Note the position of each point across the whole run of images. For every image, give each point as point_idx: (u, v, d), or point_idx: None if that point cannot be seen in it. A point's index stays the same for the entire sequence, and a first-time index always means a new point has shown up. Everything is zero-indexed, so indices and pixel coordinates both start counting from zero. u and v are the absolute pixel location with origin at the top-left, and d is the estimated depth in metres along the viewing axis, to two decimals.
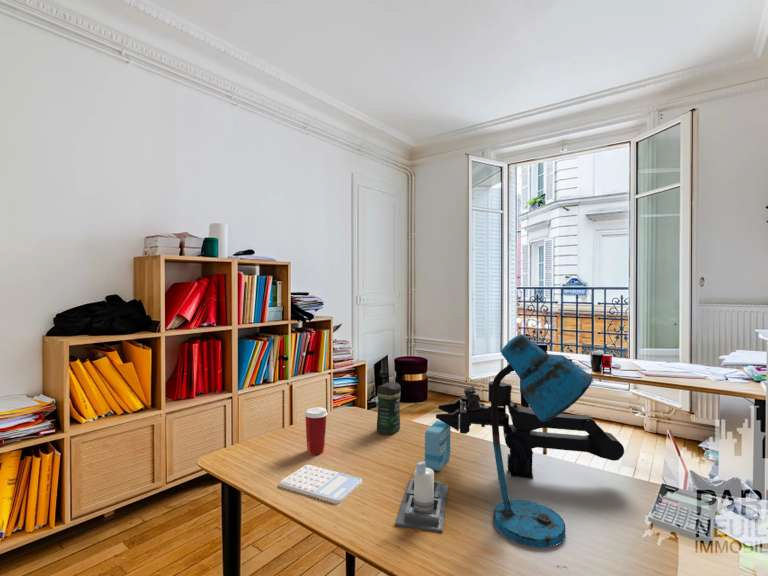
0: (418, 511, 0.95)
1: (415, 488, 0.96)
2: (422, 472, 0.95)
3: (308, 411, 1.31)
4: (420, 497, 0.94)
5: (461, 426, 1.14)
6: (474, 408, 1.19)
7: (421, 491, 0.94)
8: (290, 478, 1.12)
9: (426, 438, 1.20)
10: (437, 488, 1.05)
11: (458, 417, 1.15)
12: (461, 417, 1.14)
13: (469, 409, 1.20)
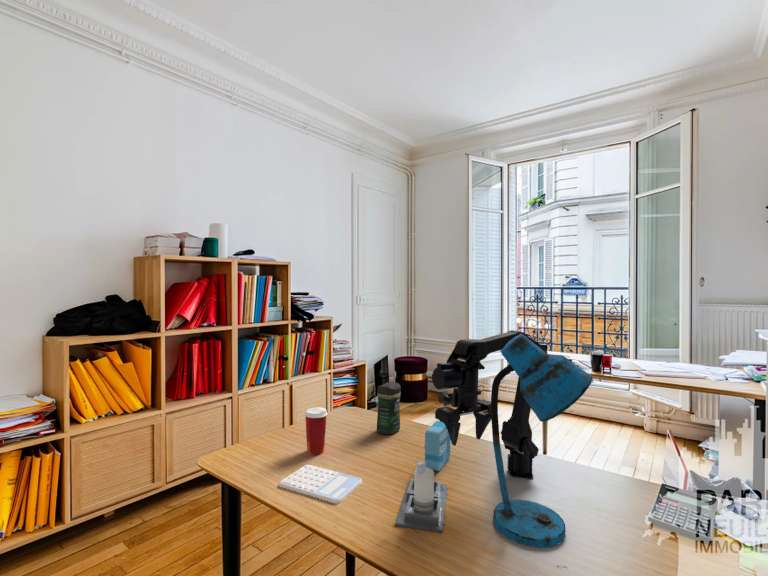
0: (418, 511, 0.95)
1: (415, 488, 0.96)
2: (422, 472, 0.95)
3: (308, 411, 1.31)
4: (420, 497, 0.94)
5: (443, 420, 1.03)
6: (452, 399, 1.10)
7: (421, 491, 0.94)
8: (290, 478, 1.12)
9: (426, 438, 1.20)
10: (437, 488, 1.05)
11: (441, 420, 1.06)
12: (437, 417, 1.05)
13: (453, 405, 1.09)
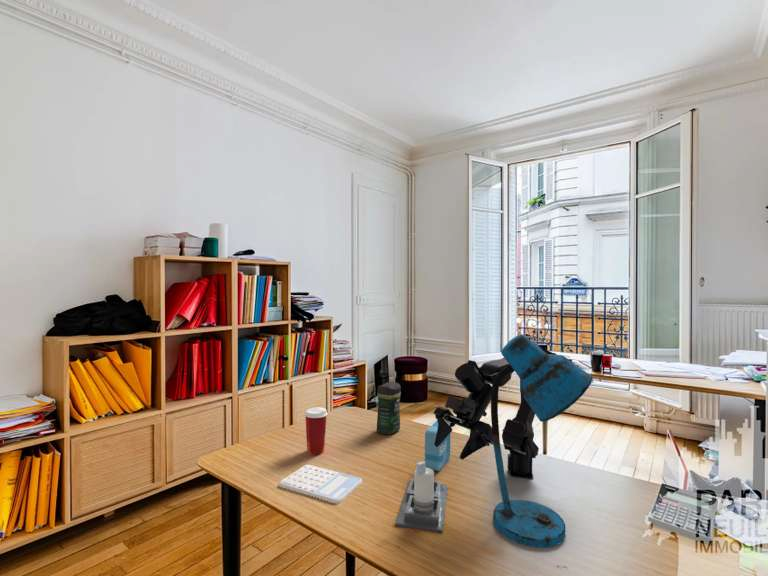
0: (418, 511, 0.95)
1: (415, 488, 0.96)
2: (422, 472, 0.95)
3: (308, 411, 1.31)
4: (420, 497, 0.94)
5: (492, 439, 0.97)
6: (472, 411, 1.02)
7: (421, 491, 0.94)
8: (290, 478, 1.12)
9: (426, 438, 1.20)
10: (437, 488, 1.05)
11: (482, 436, 0.97)
12: (487, 433, 0.96)
13: (471, 417, 1.02)
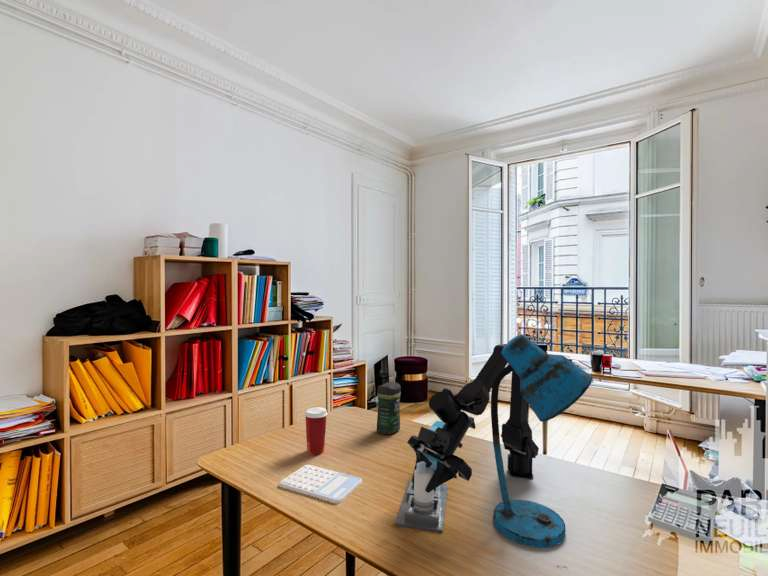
0: (418, 511, 0.95)
1: (415, 488, 0.96)
2: (422, 472, 0.95)
3: (308, 411, 1.31)
4: (420, 497, 0.94)
5: (466, 475, 0.92)
6: (446, 444, 0.97)
7: (421, 491, 0.94)
8: (290, 478, 1.11)
9: None
10: (437, 488, 1.05)
11: (449, 468, 0.93)
12: (460, 469, 0.91)
13: (444, 450, 0.96)
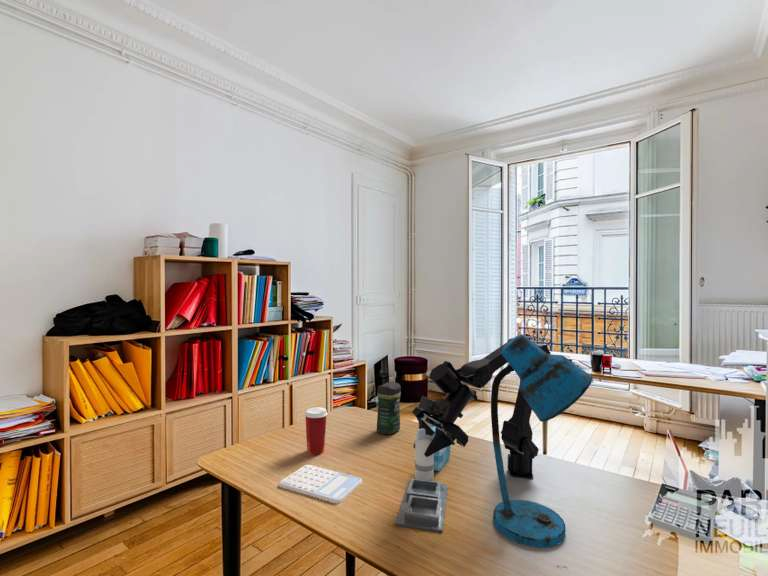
0: (418, 474, 1.01)
1: (415, 453, 1.02)
2: (422, 438, 1.01)
3: (308, 411, 1.31)
4: (420, 461, 1.00)
5: (461, 441, 0.96)
6: (445, 413, 1.02)
7: (420, 456, 1.00)
8: (290, 478, 1.11)
9: None
10: (437, 488, 1.05)
11: (446, 435, 0.98)
12: (455, 435, 0.96)
13: (443, 418, 1.02)
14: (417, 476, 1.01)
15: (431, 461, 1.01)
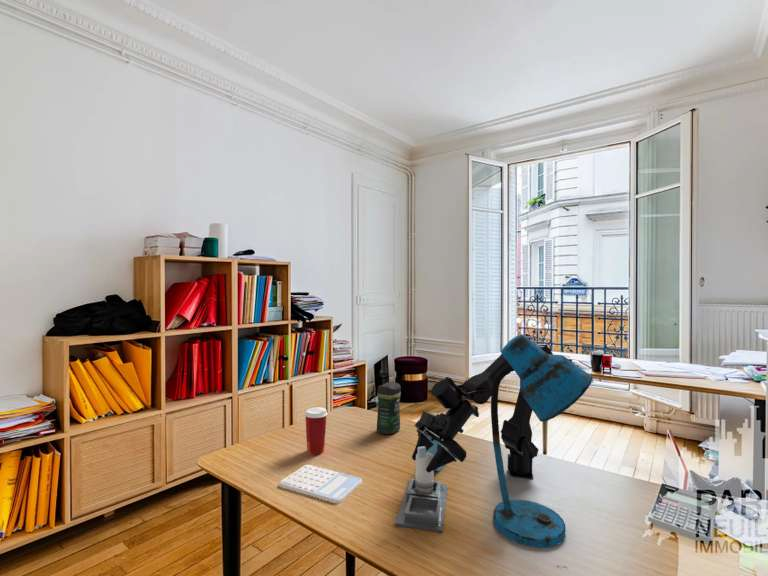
0: (418, 491, 1.04)
1: (416, 470, 1.05)
2: (422, 456, 1.05)
3: (308, 411, 1.31)
4: (420, 478, 1.04)
5: (459, 457, 0.99)
6: (445, 428, 1.05)
7: (420, 473, 1.03)
8: (290, 478, 1.11)
9: None
10: (437, 488, 1.05)
11: (447, 451, 1.00)
12: (453, 450, 0.98)
13: (443, 433, 1.04)
14: None
15: (430, 479, 1.04)
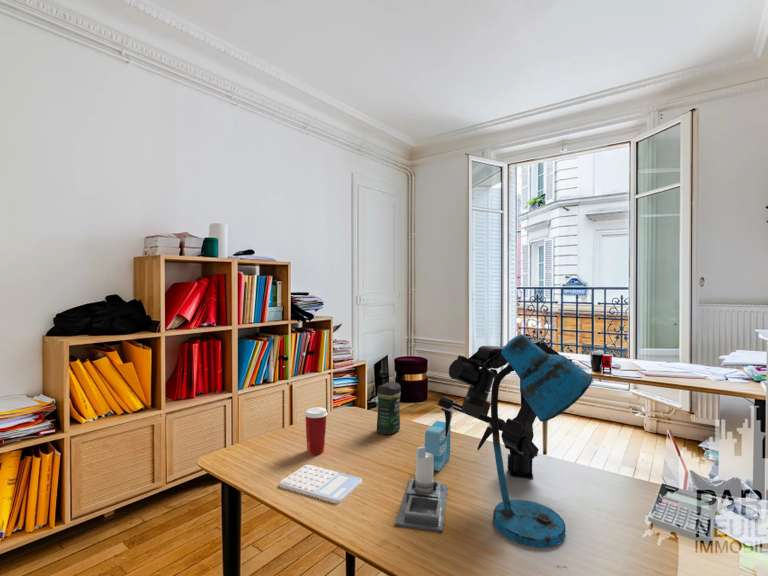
0: (418, 491, 1.04)
1: (416, 470, 1.05)
2: (422, 456, 1.05)
3: (308, 411, 1.31)
4: (420, 478, 1.04)
5: None
6: None
7: (420, 473, 1.03)
8: (290, 478, 1.11)
9: (426, 438, 1.20)
10: (437, 488, 1.05)
11: None
12: (503, 429, 1.06)
13: None
14: None
15: (430, 479, 1.04)
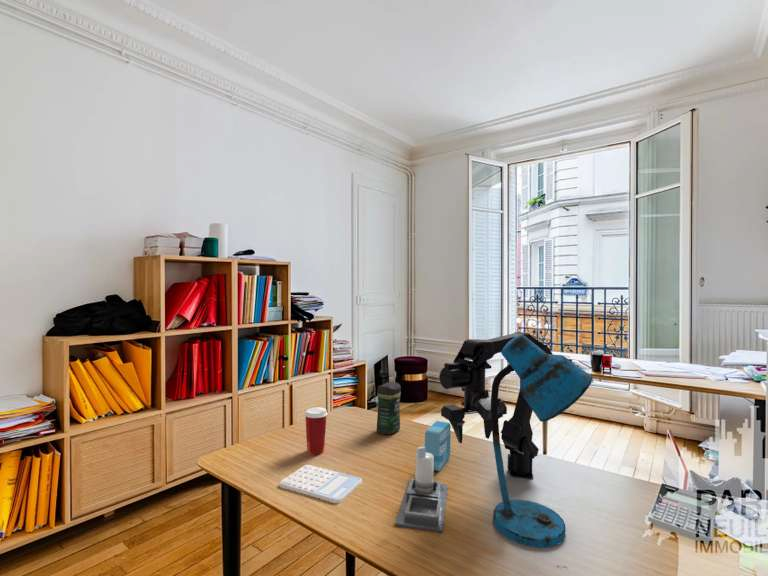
0: (418, 491, 1.04)
1: (416, 470, 1.05)
2: (422, 456, 1.05)
3: (308, 411, 1.31)
4: (420, 478, 1.04)
5: None
6: None
7: (420, 473, 1.03)
8: (290, 478, 1.11)
9: (426, 438, 1.20)
10: (437, 488, 1.05)
11: None
12: None
13: None
14: None
15: (430, 479, 1.04)
